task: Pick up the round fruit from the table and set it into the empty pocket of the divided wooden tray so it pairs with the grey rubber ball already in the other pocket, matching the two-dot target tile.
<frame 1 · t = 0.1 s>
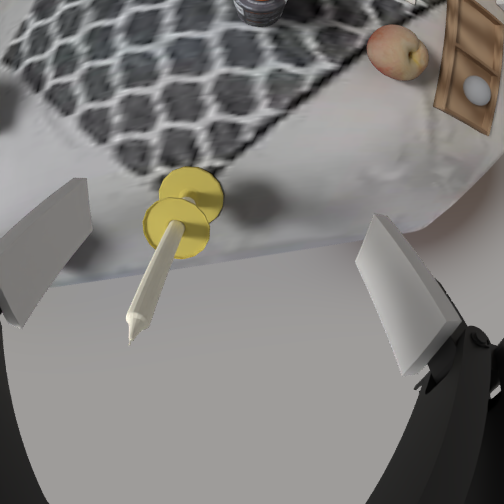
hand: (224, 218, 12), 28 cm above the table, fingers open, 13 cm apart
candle: (190, 197, 41), on the table
grey ball: (467, 88, 28), point 1 cm above the table, touching divided wooden tray
fruit: (384, 54, 28), on the table
divided wooden tray: (469, 59, 25), on the table
pill bottle: (259, 9, 26), on the table
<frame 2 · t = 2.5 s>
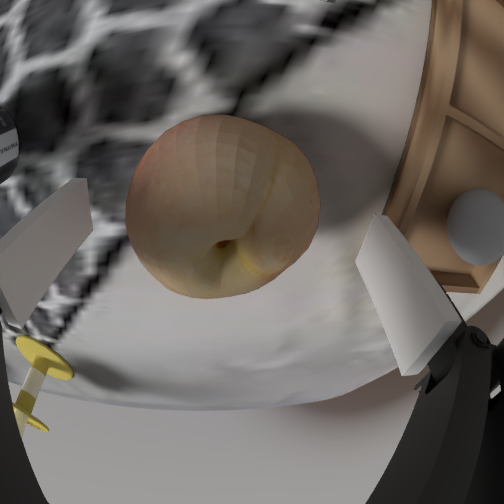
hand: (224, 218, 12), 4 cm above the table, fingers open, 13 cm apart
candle: (44, 357, 29), on the table
grey ball: (460, 208, 16), point 1 cm above the table, touching divided wooden tray
fruit: (229, 173, 16), on the table
divided wooden tray: (480, 133, 13), on the table
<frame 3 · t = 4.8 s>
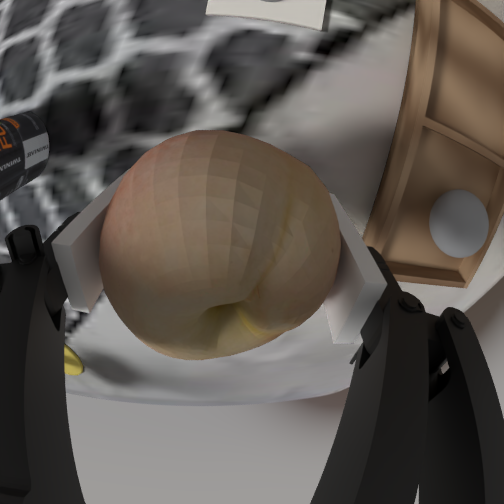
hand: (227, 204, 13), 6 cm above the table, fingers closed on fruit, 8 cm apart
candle: (55, 352, 31), on the table
grey ball: (442, 208, 18), point 1 cm above the table, touching divided wooden tray
fruit: (228, 196, 13), point 5 cm above the table, touching gripper
divided wooden tray: (459, 140, 16), on the table
pill bottle: (29, 144, 16), on the table
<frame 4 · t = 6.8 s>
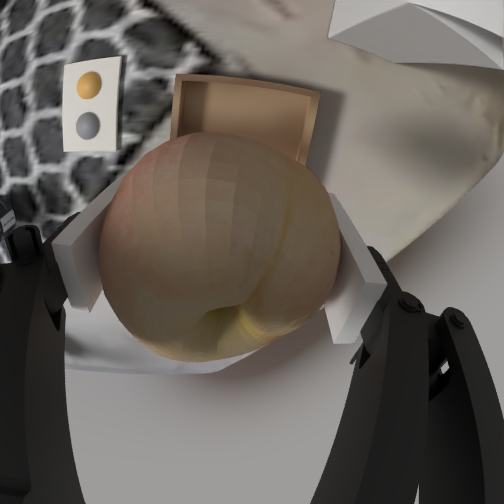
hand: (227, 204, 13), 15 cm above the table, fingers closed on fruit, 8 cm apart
milk carton: (367, 21, 18), on the table
fruit: (228, 197, 13), point 14 cm above the table, touching gripper
target tile: (89, 105, 22), on the table
divided wooden tray: (232, 196, 28), on the table
pill bottle: (5, 212, 29), on the table
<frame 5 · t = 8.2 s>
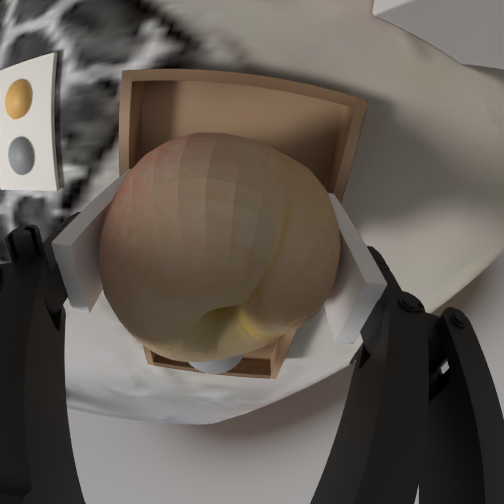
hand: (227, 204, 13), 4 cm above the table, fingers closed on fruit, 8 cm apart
grey ball: (216, 317, 22), point 1 cm above the table, touching divided wooden tray
fruit: (228, 198, 13), point 4 cm above the table, touching gripper
target tile: (22, 126, 13), on the table
divided wooden tray: (222, 254, 20), on the table
when the fingers open (3 cm above the table, at t = 9.3 s): fruit drops 2 cm, resting on divided wooden tray.
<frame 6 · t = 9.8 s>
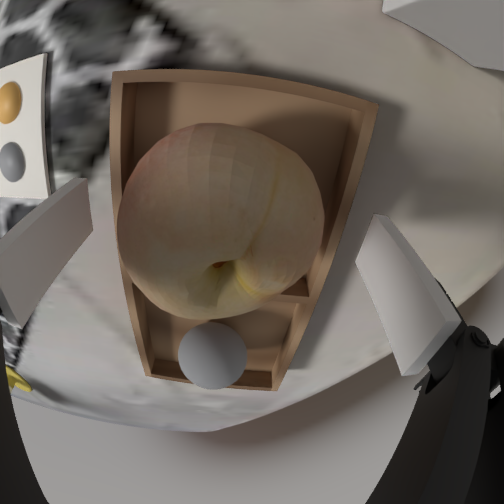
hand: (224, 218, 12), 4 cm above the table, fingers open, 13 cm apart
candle: (12, 375, 34), on the table
grey ball: (215, 330, 21), point 1 cm above the table, touching divided wooden tray
fruit: (228, 183, 15), resting on divided wooden tray
target tile: (12, 131, 12), on the table
divided wooden tray: (221, 267, 19), on the table
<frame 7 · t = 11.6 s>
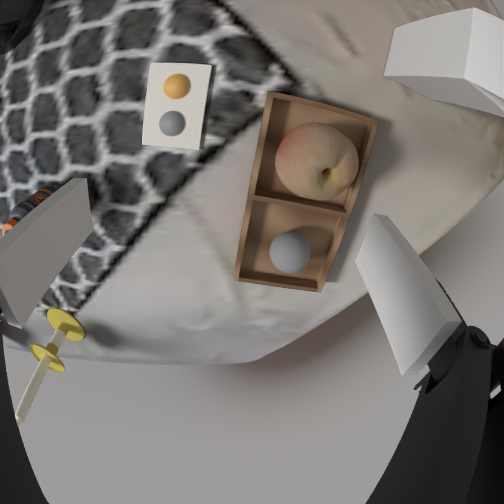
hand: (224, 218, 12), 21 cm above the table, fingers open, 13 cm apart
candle: (66, 324, 49), on the table
milk carton: (412, 63, 23), on the table
grey ball: (288, 241, 36), point 1 cm above the table, touching divided wooden tray
fruit: (310, 152, 30), resting on divided wooden tray
target tile: (175, 104, 27), on the table
divided wooden tray: (298, 198, 33), on the table
pill bottle: (58, 199, 34), on the table
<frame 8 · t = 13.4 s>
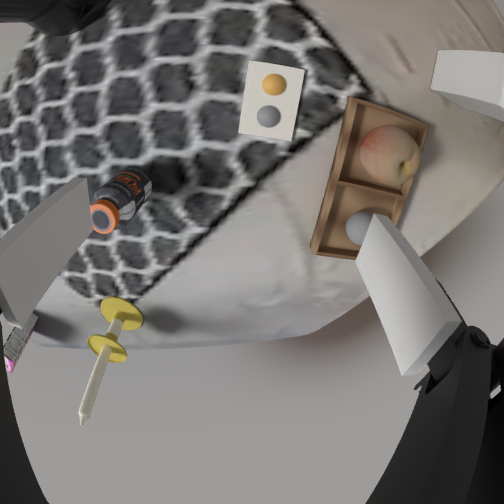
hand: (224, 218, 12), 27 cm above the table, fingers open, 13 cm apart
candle: (121, 313, 54), on the table
milk carton: (449, 79, 28), on the table
grey ball: (357, 220, 41), point 1 cm above the table, touching divided wooden tray
candy bar box: (30, 319, 58), on the table
fruit: (378, 147, 35), resting on divided wooden tray
target tile: (271, 100, 32), on the table
divided wooden tray: (366, 184, 38), on the table
pill bottle: (134, 184, 39), on the table
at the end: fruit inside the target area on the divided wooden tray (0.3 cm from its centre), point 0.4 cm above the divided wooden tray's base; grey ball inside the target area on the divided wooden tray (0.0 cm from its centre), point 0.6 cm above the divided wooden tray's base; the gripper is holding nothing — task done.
